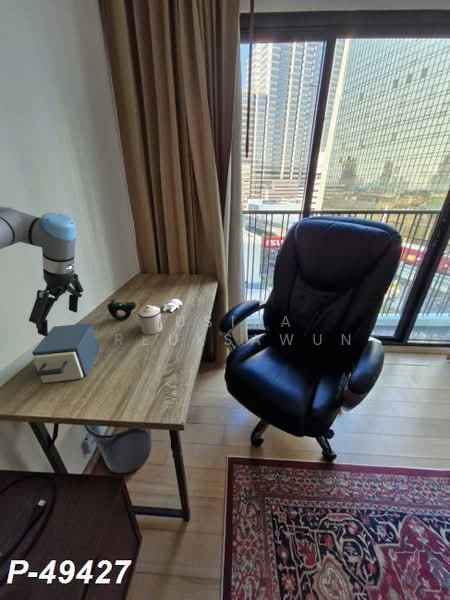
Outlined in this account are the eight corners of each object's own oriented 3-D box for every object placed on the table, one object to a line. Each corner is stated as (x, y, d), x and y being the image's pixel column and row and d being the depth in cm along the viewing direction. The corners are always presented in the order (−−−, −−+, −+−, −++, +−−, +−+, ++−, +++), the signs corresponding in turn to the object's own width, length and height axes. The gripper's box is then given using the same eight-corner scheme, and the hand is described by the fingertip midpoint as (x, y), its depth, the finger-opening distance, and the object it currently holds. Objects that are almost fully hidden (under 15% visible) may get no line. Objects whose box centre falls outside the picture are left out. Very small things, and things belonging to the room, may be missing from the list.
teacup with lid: (164, 332, 106) (161, 308, 101) (142, 337, 103) (138, 312, 98) (159, 319, 116) (156, 296, 111) (139, 323, 113) (134, 300, 108)
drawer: (76, 390, 76) (67, 364, 72) (35, 395, 75) (22, 369, 70) (94, 352, 93) (88, 329, 89) (61, 355, 91) (52, 333, 87)
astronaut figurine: (158, 311, 123) (157, 305, 122) (171, 300, 133) (171, 295, 132) (173, 314, 120) (173, 308, 119) (186, 303, 130) (185, 298, 129)
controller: (112, 317, 118) (107, 298, 113) (139, 315, 119) (135, 296, 115) (109, 322, 114) (104, 302, 110) (137, 320, 115) (133, 301, 111)
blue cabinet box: (86, 376, 83) (76, 347, 78) (44, 381, 81) (31, 352, 76) (99, 349, 96) (91, 323, 91) (63, 353, 94) (53, 326, 89)
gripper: (36, 294, 62) (39, 351, 73) (97, 257, 83) (92, 306, 94) (7, 282, 62) (15, 341, 73) (76, 248, 83) (73, 298, 94)
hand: (58, 321), depth 83 cm, fingers open, 13 cm apart
